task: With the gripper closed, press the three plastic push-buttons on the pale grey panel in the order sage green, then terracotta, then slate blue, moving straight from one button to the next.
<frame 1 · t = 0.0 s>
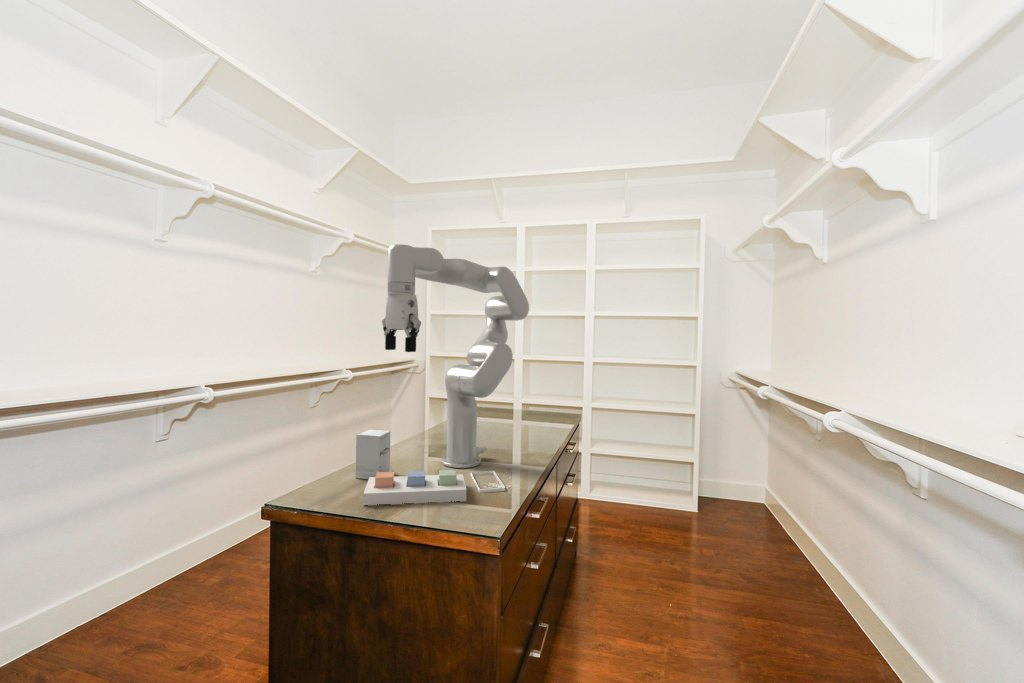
hand: (400, 350, 131), 37 cm above the table, tool pointing down, fingers open, 9 cm apart
button terracotta: (384, 480, 120), point 4 cm above the table, slide at 0.0 cm
supplement box: (373, 476, 136), on the table
button sage: (447, 478, 123), point 4 cm above the table, slide at 0.0 cm
button panel: (416, 494, 122), on the table
white rectangular frame: (487, 485, 132), on the table
button slate: (416, 479, 121), point 4 cm above the table, slide at 0.0 cm
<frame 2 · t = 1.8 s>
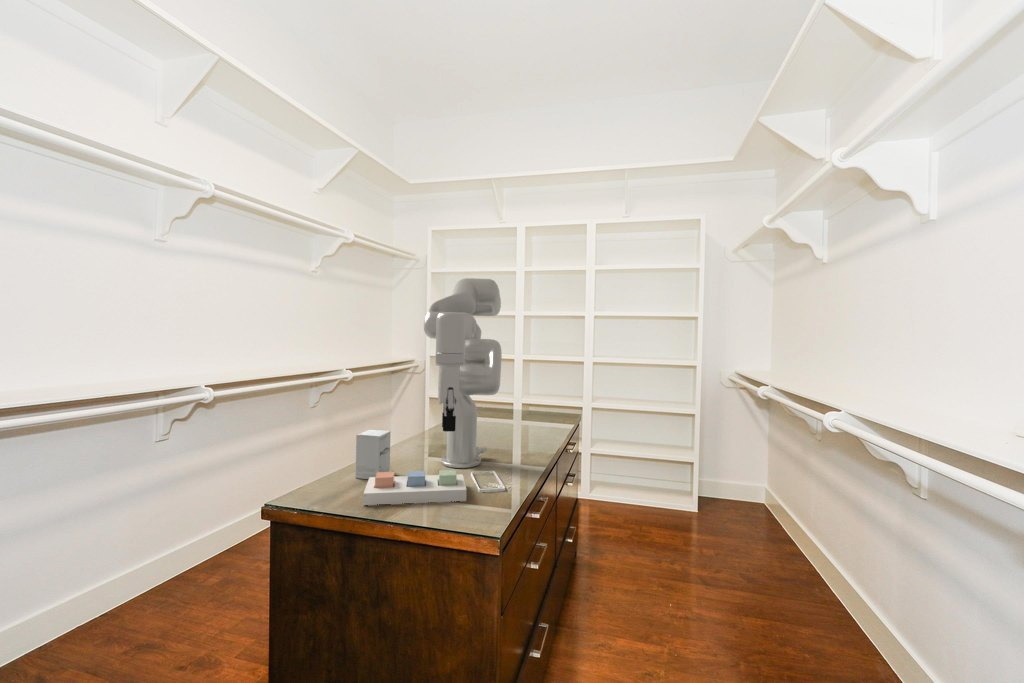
hand: (448, 428, 122), 17 cm above the table, tool pointing down, fingers open, 3 cm apart
nothing on the table moved.
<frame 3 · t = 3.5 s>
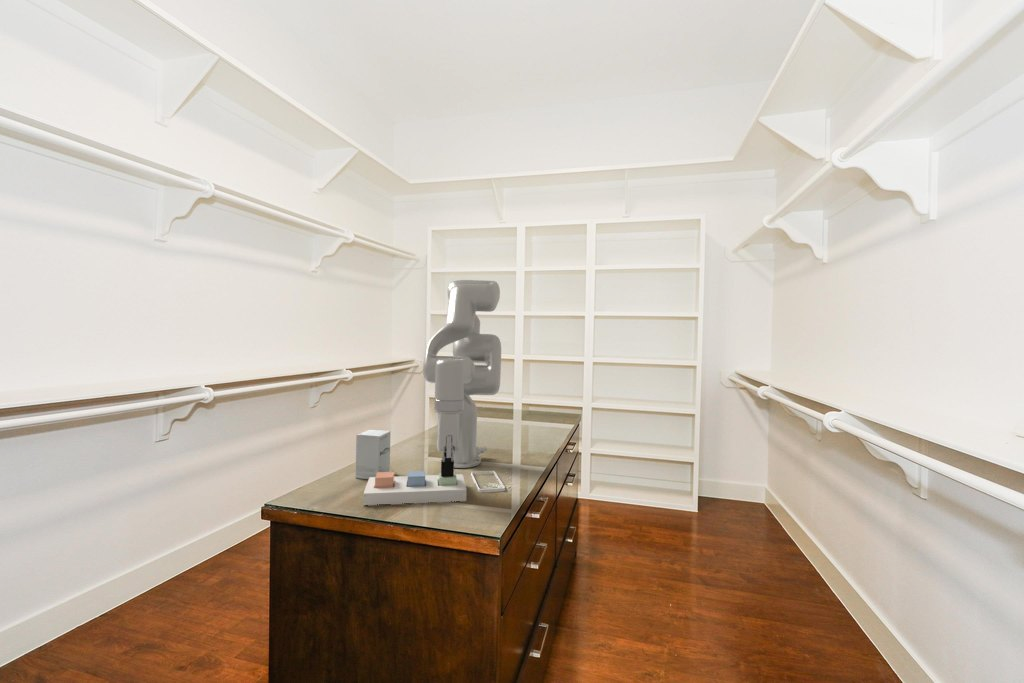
hand: (447, 475, 122), 5 cm above the table, tool pointing down, fingers closed
button sage: (447, 481, 123), point 3 cm above the table, slide at 0.6 cm, touching gripper
everything else where it was.
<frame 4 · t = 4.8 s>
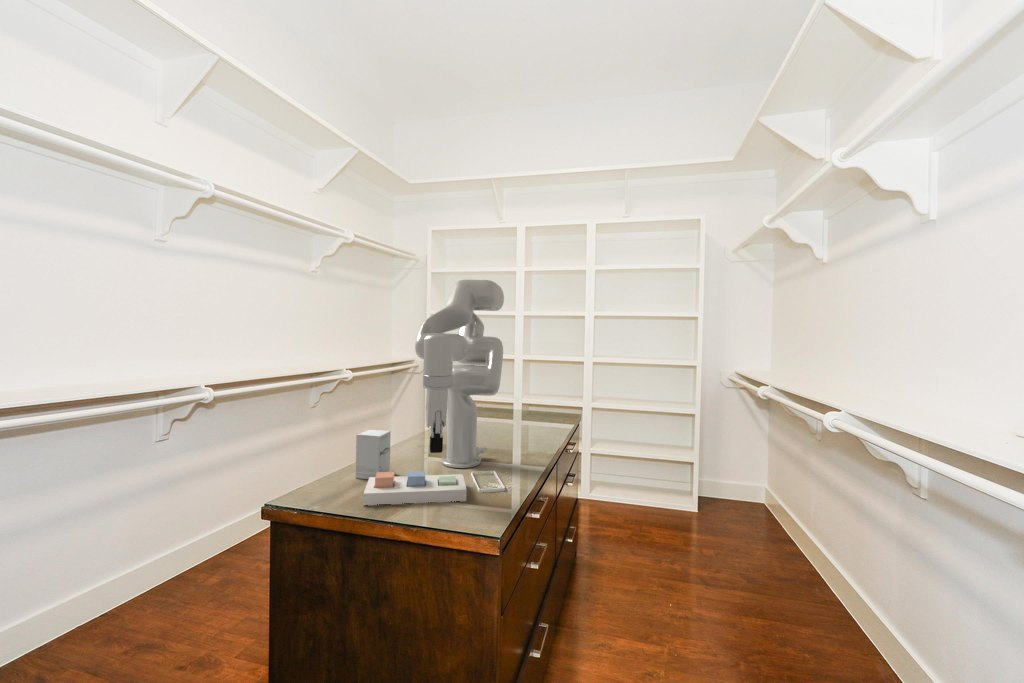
hand: (436, 451, 122), 11 cm above the table, tool pointing down, fingers closed
button sage: (447, 485, 123), point 2 cm above the table, slide at 1.7 cm
everything else where it was.
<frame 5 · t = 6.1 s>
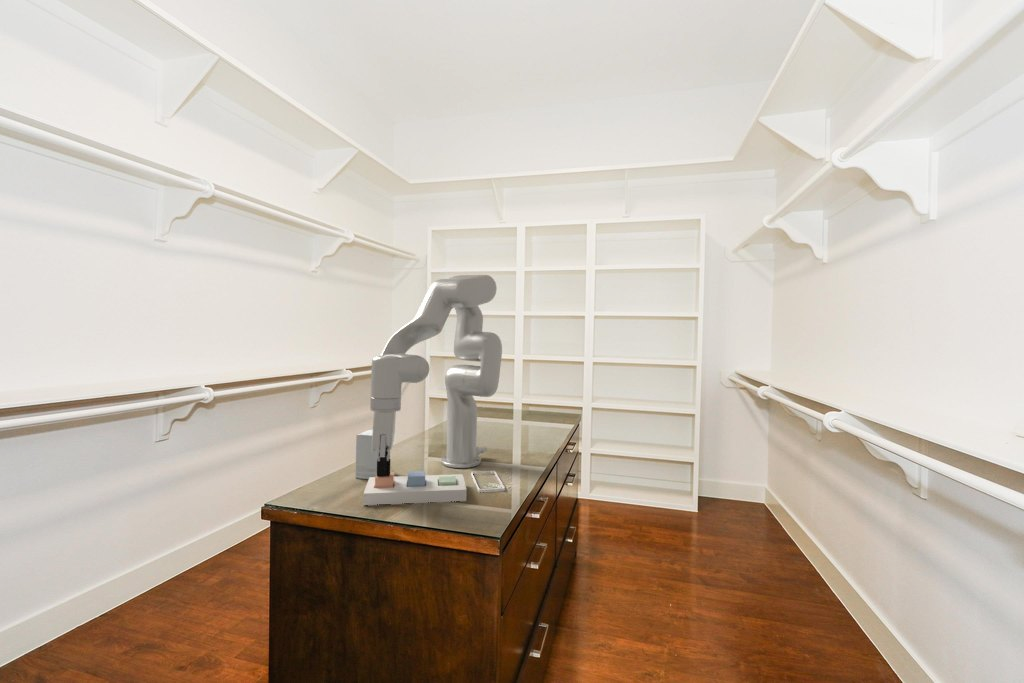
hand: (383, 475, 119), 6 cm above the table, tool pointing down, fingers closed
button terracotta: (384, 481, 120), point 4 cm above the table, slide at 0.0 cm, touching gripper
everything else where it was.
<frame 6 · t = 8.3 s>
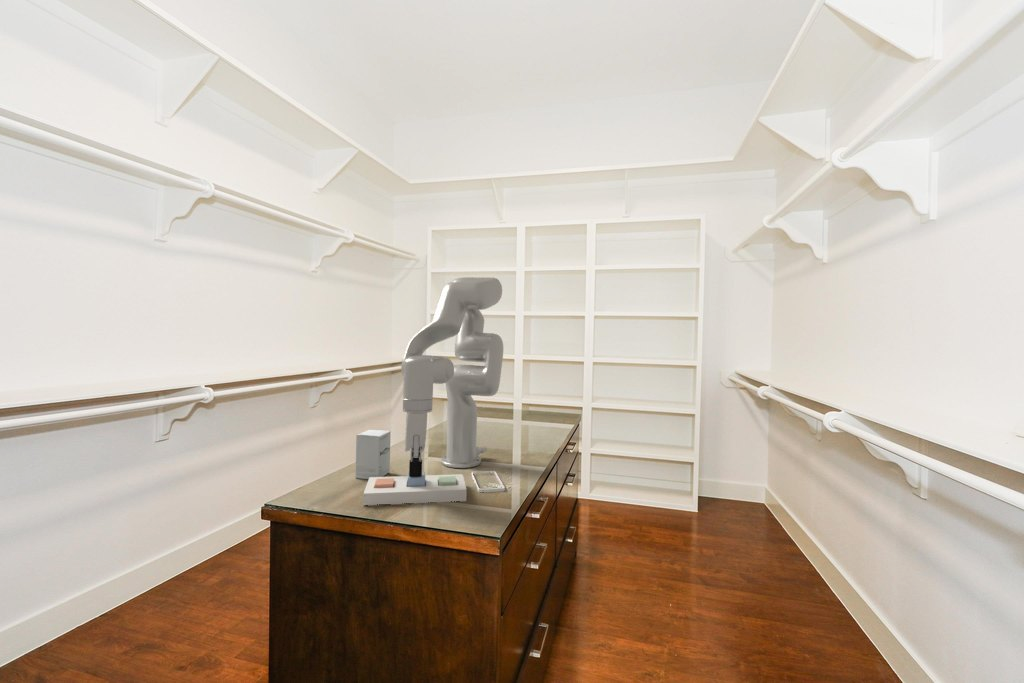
hand: (415, 475, 121), 5 cm above the table, tool pointing down, fingers closed
button terracotta: (384, 487, 120), point 2 cm above the table, slide at 1.7 cm
button slate: (416, 481, 121), point 4 cm above the table, slide at 0.4 cm, touching gripper
everything else where it was.
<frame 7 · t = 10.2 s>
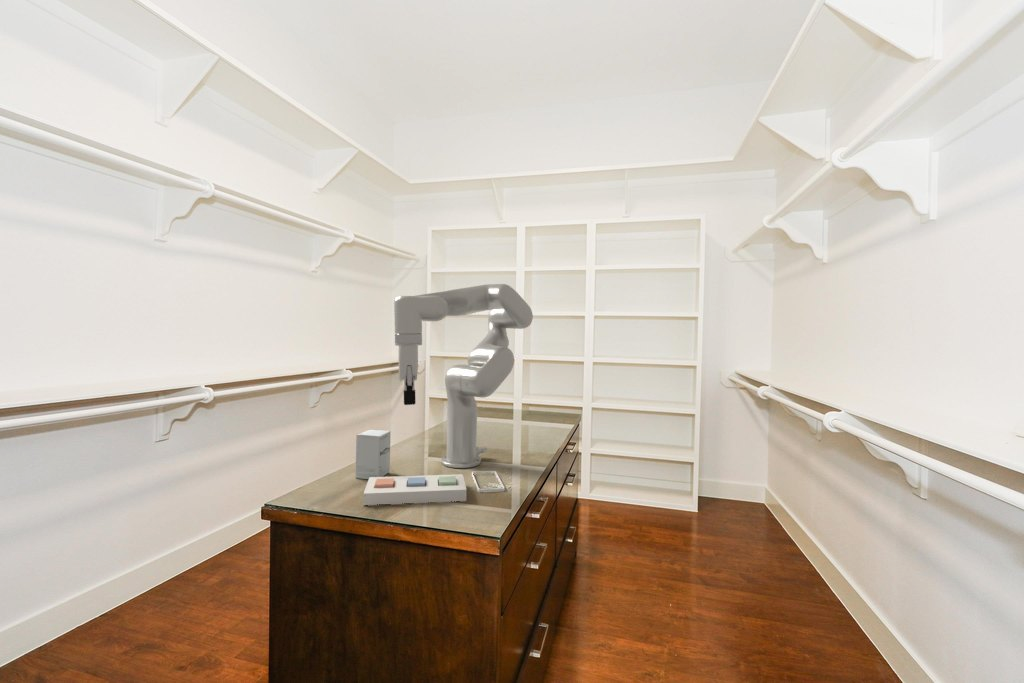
hand: (409, 404, 133), 22 cm above the table, tool pointing down, fingers closed
button slate: (416, 486, 121), point 2 cm above the table, slide at 1.7 cm
everything else where it was.
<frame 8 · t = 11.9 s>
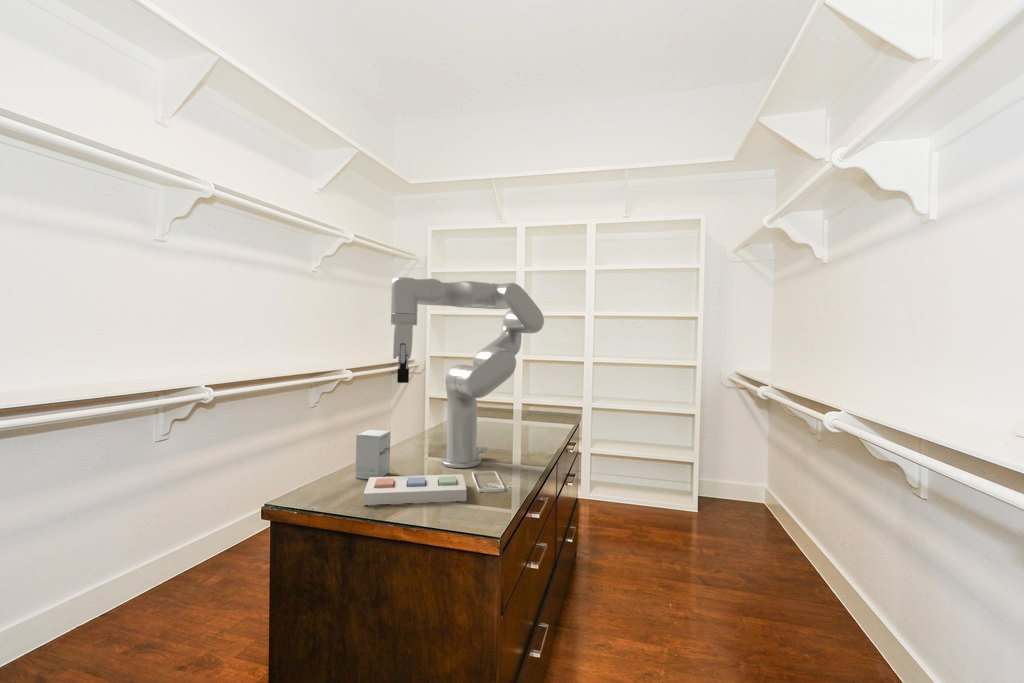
hand: (403, 382, 137), 27 cm above the table, tool pointing down, fingers closed
nothing on the table moved.
at the end: button sage slide at 1.7 cm; button terracotta slide at 1.7 cm; button slate slide at 1.7 cm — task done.
